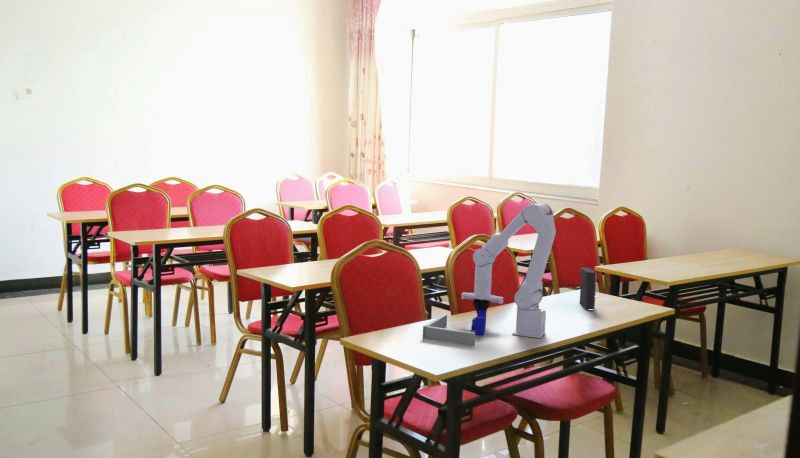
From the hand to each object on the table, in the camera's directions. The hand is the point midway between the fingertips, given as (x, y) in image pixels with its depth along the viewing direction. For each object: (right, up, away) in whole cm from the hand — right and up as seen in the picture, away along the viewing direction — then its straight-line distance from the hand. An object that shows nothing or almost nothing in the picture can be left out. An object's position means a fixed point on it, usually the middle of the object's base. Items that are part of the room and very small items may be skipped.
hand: (481, 321), depth 255 cm
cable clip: (-2, -3, -8) cm, 9 cm away
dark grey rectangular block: (+45, +1, +34) cm, 56 cm away
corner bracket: (-9, -3, -14) cm, 17 cm away
